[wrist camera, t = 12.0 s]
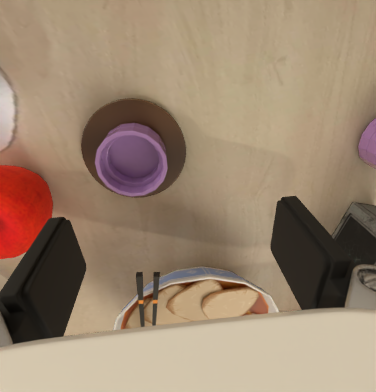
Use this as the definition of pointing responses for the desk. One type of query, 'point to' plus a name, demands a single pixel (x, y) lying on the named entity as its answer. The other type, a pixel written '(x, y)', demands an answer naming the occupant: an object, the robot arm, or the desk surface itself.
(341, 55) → the desk surface
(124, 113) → the coaster
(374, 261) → the camera
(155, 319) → the ramen bowl
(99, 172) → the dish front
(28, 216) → the apple
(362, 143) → the dish
